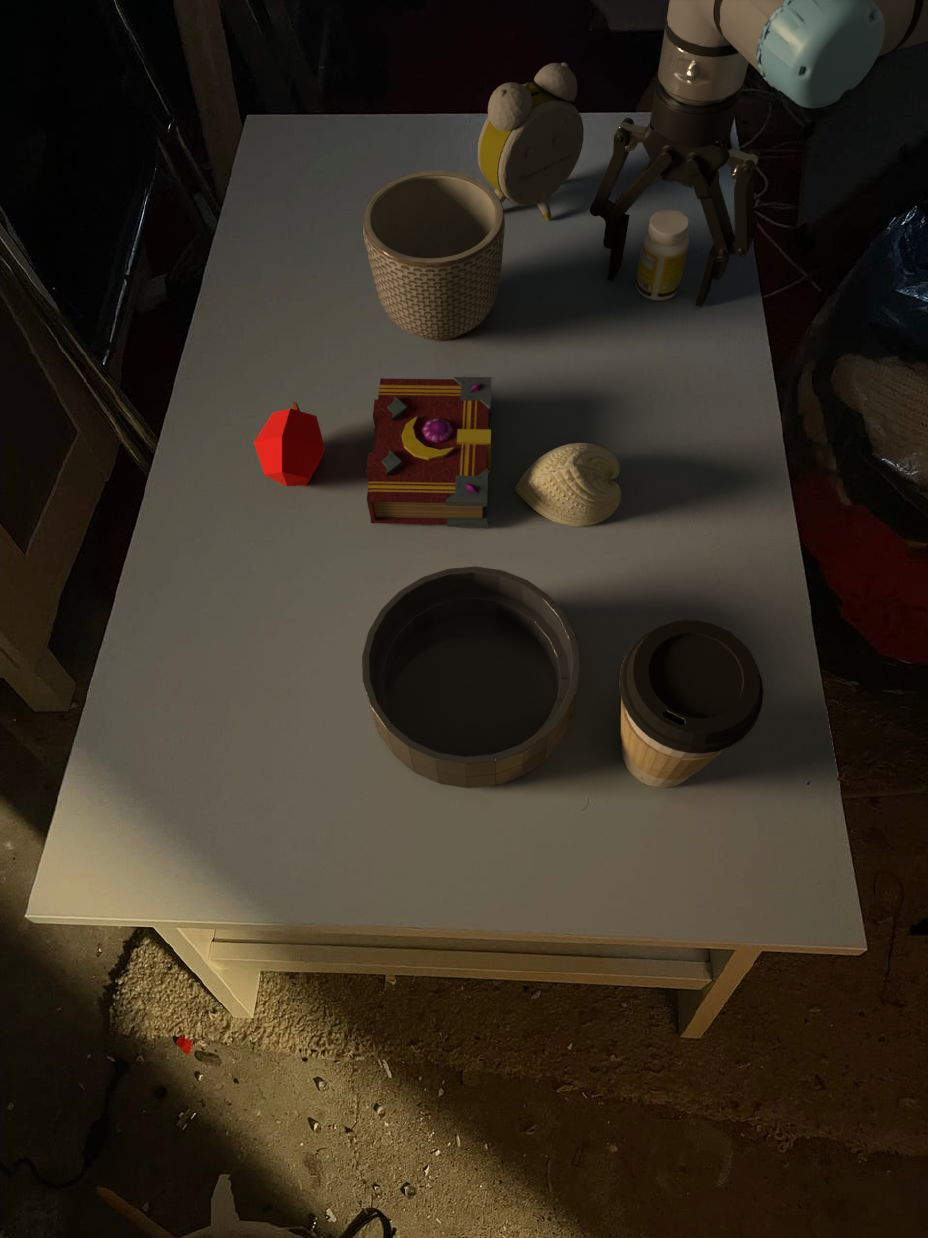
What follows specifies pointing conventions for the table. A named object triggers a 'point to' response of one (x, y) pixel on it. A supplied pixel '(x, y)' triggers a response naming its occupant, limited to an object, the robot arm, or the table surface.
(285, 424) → the apple
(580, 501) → the seashell
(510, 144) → the alarm clock
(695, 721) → the coffee cup
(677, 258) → the supplement bottle
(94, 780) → the table surface
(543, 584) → the table surface
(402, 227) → the planter
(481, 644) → the bowl
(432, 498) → the decorative book
